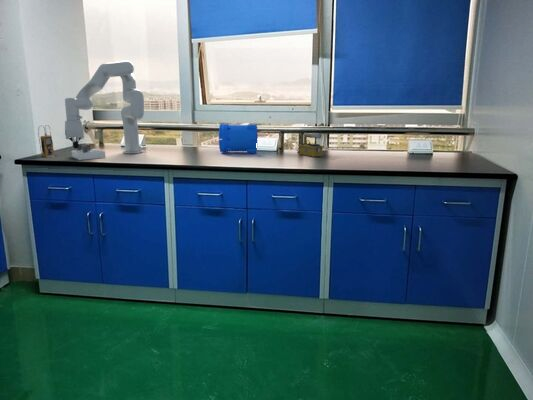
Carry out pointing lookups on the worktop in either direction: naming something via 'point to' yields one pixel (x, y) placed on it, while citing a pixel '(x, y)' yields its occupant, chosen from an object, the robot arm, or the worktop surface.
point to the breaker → (84, 149)
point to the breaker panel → (88, 154)
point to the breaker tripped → (88, 146)
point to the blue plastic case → (238, 138)
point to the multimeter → (46, 145)
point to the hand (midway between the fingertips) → (76, 148)
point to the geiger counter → (310, 146)
